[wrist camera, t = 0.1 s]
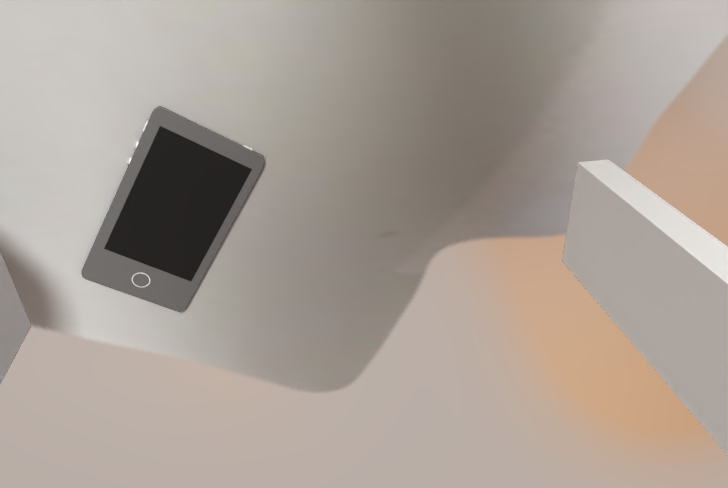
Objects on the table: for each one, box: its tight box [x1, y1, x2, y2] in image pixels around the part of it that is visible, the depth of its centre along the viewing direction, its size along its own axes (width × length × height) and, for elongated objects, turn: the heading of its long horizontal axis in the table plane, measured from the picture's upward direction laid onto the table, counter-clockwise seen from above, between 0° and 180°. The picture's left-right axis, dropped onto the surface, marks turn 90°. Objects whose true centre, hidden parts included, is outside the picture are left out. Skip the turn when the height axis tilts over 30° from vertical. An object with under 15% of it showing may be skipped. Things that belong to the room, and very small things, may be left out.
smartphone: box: [82, 106, 264, 312], centre depth 43 cm, size 15×8×1 cm, turn 149°
